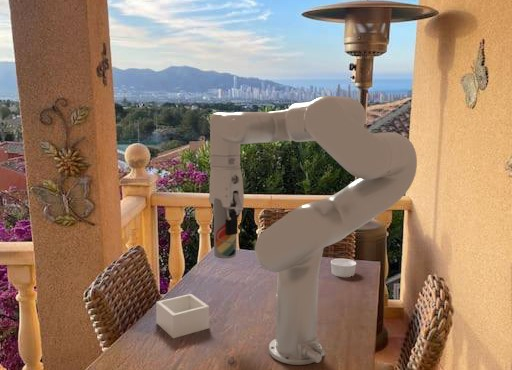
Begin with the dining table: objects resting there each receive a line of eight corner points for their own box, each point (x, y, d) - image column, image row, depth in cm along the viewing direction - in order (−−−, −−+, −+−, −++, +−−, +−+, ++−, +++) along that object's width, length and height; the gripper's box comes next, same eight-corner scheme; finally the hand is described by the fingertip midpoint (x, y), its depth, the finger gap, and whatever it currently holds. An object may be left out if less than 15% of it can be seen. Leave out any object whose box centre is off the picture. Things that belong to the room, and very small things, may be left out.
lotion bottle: (232, 259, 121) (233, 181, 118) (211, 258, 122) (211, 180, 119) (238, 253, 126) (238, 178, 123) (217, 251, 127) (217, 177, 124)
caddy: (209, 328, 124) (209, 306, 123) (173, 338, 119) (173, 315, 118) (191, 314, 133) (190, 293, 132) (156, 323, 127) (156, 301, 126)
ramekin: (330, 268, 173) (331, 257, 172) (356, 270, 171) (356, 259, 170) (329, 277, 164) (329, 265, 163) (355, 279, 162) (356, 267, 162)
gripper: (256, 164, 116) (255, 237, 118) (220, 158, 129) (220, 223, 132) (230, 166, 111) (230, 241, 114) (195, 159, 125) (196, 226, 128)
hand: (225, 231), depth 123 cm, fingers closed on lotion bottle, 5 cm apart
